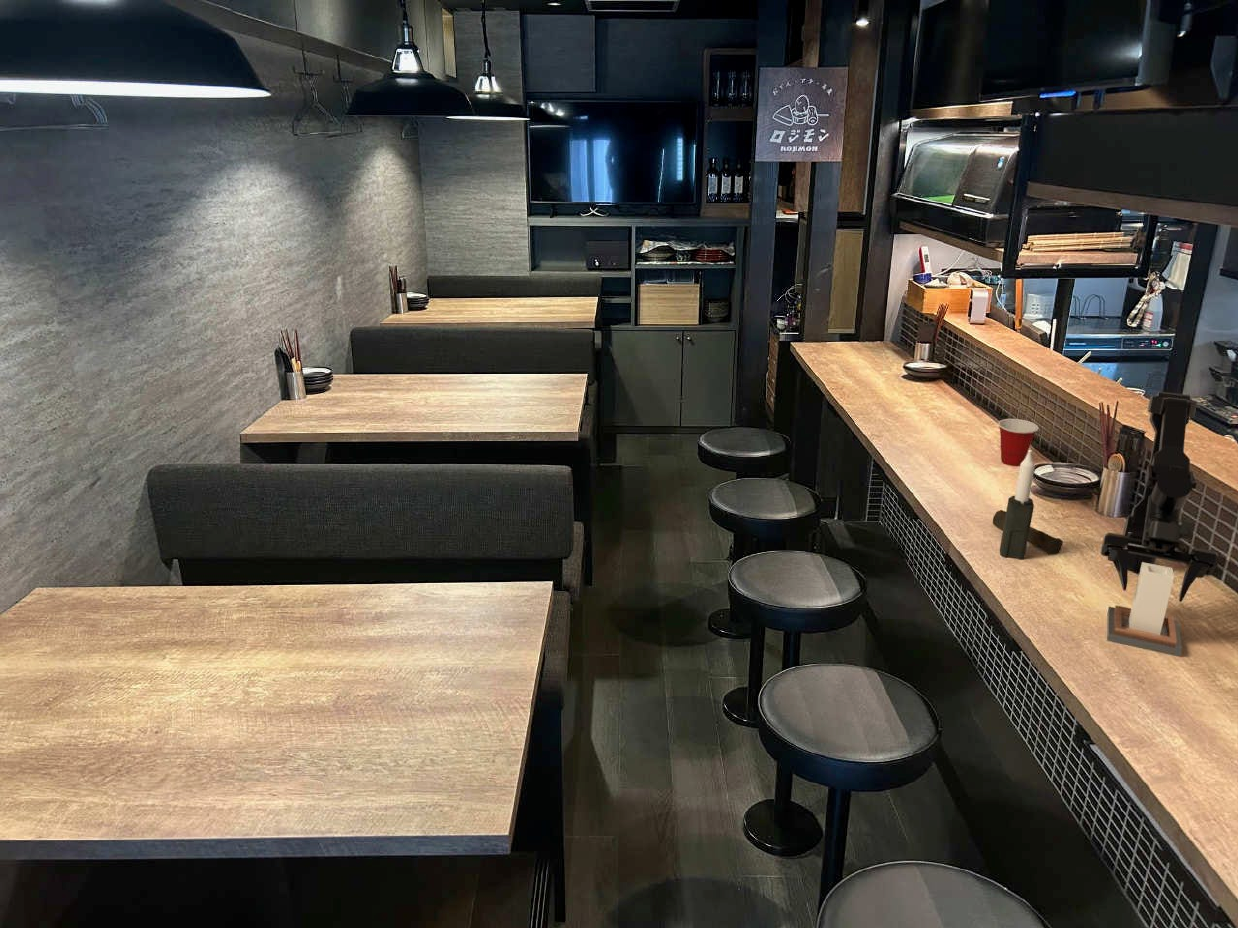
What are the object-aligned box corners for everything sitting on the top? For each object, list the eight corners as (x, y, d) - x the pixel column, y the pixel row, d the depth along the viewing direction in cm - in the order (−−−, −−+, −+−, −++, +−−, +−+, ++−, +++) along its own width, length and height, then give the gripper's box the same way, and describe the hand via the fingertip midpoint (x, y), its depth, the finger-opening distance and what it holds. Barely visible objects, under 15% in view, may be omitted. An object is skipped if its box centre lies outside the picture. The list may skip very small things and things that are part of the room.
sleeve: (1129, 618, 178) (1142, 562, 174) (1158, 624, 176) (1172, 567, 172) (1129, 629, 174) (1142, 572, 170) (1159, 636, 172) (1173, 578, 168)
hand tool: (1062, 554, 210) (1065, 535, 209) (1048, 556, 209) (1052, 538, 207) (1001, 523, 227) (1004, 506, 225) (988, 525, 225) (991, 508, 224)
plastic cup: (991, 466, 266) (998, 426, 262) (992, 455, 276) (998, 416, 272) (1032, 471, 263) (1039, 431, 259) (1031, 460, 272) (1038, 421, 268)
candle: (1023, 551, 211) (1042, 447, 202) (1024, 560, 206) (1044, 454, 198) (999, 547, 212) (1017, 444, 204) (1000, 556, 208) (1018, 451, 199)
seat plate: (1107, 613, 183) (1111, 592, 182) (1176, 627, 178) (1181, 607, 177) (1107, 640, 173) (1111, 619, 172) (1180, 656, 168) (1185, 634, 167)
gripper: (1114, 493, 174) (1102, 568, 169) (1229, 512, 167) (1221, 591, 161) (1106, 517, 184) (1094, 589, 178) (1215, 536, 176) (1206, 612, 170)
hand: (1152, 595), depth 172 cm, fingers open, 9 cm apart
